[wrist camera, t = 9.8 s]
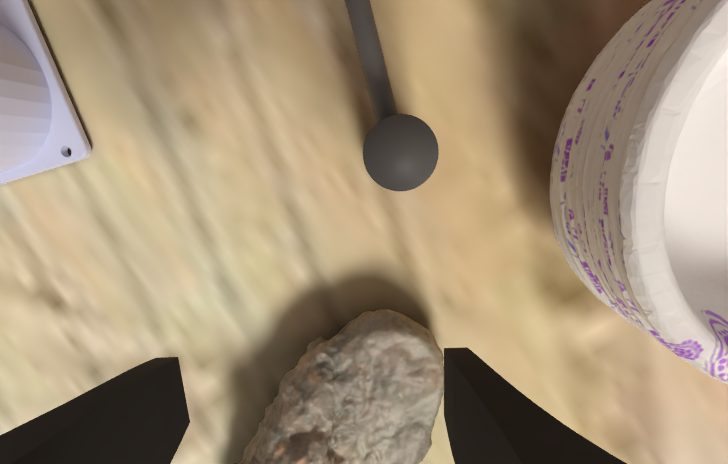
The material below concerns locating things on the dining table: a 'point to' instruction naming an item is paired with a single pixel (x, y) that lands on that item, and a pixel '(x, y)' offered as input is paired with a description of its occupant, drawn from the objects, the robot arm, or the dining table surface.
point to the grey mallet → (389, 116)
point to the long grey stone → (356, 397)
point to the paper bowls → (653, 178)
